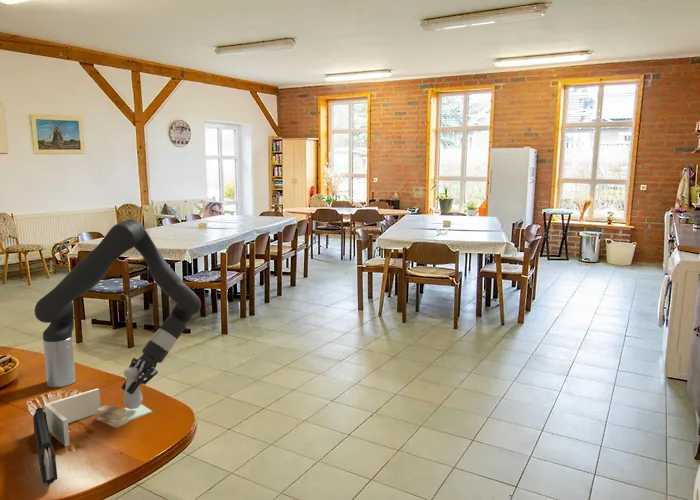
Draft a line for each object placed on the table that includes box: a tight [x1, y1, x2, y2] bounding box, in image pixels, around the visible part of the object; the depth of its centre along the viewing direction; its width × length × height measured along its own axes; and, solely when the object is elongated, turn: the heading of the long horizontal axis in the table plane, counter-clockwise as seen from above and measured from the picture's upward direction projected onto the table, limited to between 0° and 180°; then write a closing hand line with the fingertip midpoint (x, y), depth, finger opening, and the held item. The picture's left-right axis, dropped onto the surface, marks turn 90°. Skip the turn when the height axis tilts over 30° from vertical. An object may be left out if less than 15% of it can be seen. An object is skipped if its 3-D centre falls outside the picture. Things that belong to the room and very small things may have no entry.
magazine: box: [32, 407, 58, 485], centre depth 142 cm, size 17×3×30 cm
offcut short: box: [96, 404, 126, 420], centre depth 165 cm, size 8×4×2 cm, turn 73°
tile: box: [123, 403, 153, 422], centre depth 170 cm, size 8×8×1 cm
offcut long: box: [95, 414, 129, 429], centre depth 165 cm, size 10×4×2 cm, turn 59°
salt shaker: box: [123, 367, 144, 409], centre depth 169 cm, size 6×6×13 cm
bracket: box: [43, 388, 102, 448], centre depth 160 cm, size 15×16×8 cm
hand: (126, 391), depth 168 cm, fingers closed on salt shaker, 3 cm apart
